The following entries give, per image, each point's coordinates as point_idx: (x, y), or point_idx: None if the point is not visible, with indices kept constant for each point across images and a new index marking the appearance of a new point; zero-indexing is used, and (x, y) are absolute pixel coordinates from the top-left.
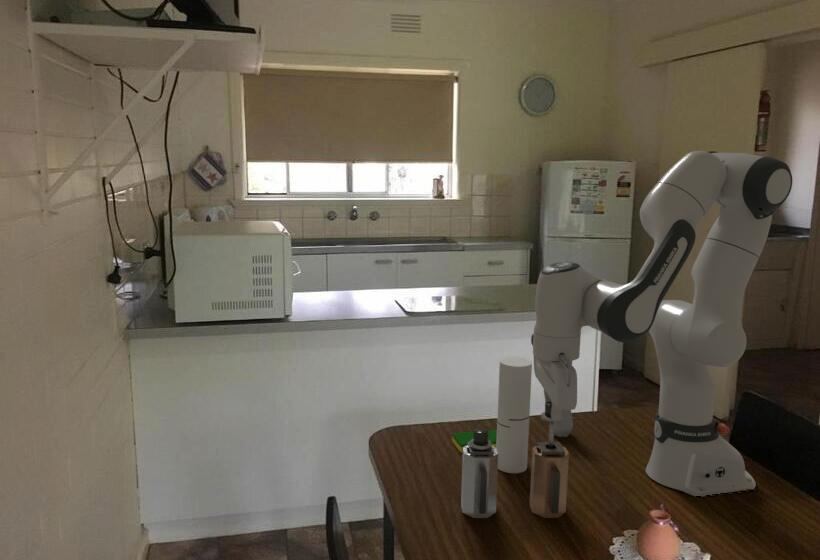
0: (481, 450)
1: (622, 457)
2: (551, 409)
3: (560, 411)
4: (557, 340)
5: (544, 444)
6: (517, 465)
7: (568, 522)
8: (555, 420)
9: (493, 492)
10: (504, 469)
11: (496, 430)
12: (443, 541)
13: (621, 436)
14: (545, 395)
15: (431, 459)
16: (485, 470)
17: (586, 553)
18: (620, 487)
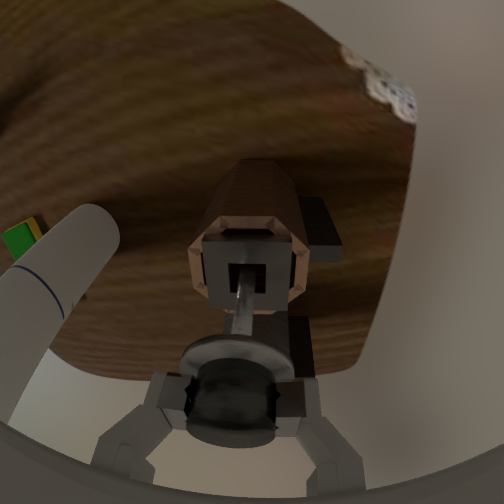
0: None
1: (40, 18)
2: (300, 442)
3: (326, 421)
4: None
5: (229, 293)
6: (109, 233)
7: (311, 164)
8: (294, 378)
9: (277, 319)
10: (116, 249)
11: (10, 247)
12: (339, 347)
13: None
14: (151, 449)
15: (112, 336)
16: (304, 378)
17: (411, 167)
18: (154, 18)
